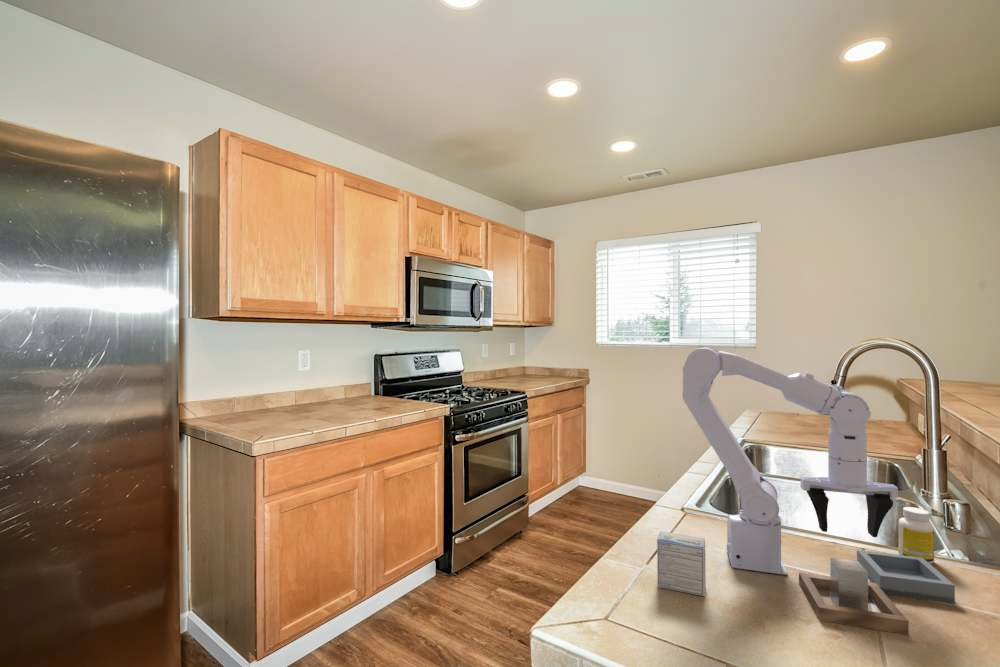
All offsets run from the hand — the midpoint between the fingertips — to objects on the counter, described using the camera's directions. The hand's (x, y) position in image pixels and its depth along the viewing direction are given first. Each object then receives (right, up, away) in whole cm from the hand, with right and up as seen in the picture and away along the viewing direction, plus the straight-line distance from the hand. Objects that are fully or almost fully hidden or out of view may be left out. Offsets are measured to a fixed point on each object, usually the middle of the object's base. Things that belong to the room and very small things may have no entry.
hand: (847, 532), depth 87 cm
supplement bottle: (+20, -9, +8) cm, 23 cm away
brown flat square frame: (-6, -9, -8) cm, 13 cm away
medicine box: (-31, -9, -2) cm, 32 cm away
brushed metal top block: (-6, -9, -8) cm, 13 cm away
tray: (+9, -9, -1) cm, 13 cm away
